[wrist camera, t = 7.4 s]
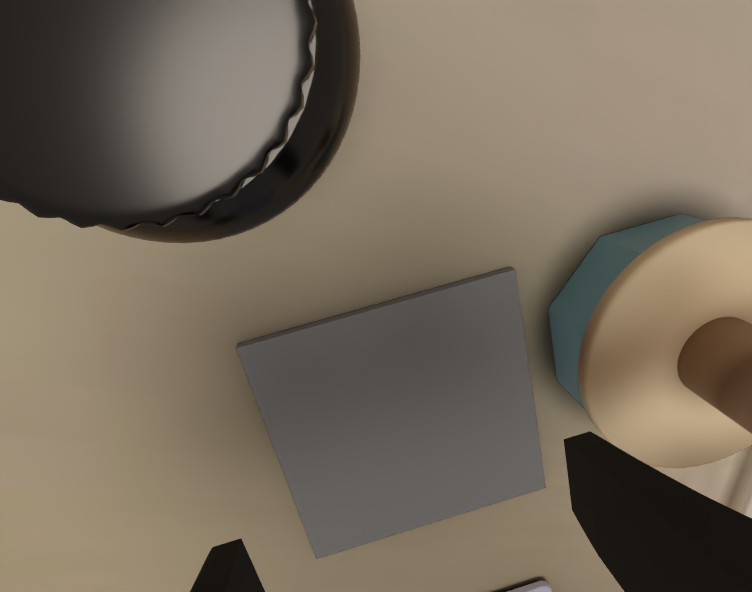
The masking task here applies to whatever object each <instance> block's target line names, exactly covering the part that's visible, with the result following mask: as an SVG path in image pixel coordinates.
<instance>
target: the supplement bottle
mask: <svg viewBox="0 0 752 592" xmlns="http://www.w3.org/2000/svg"><path fill="white" fill-rule="evenodd" d="M359 73H360V37H359V29H358V21H357V14H356V10H355V5H354V1H353V0H0V200H3V201H7V202H14V203H19V204H20V205H22V206H23V207H24V208H25V209H27V210H28V211H30V212H31V213H33V214H34V215H36V216H37V217H41V218H58V217H60V218H63V219H65V220H67V221H68V222H70V223H71V224H74V225H76V226H78V227H80V228H86V227H93V226H99V227H101V228H104V229H106V230H109V231H112V232H115V233H118V234H122V235H125V236H129V237H133V238H138V239H143V240H148V241H157V242H166V243H193V242H205V241H211V240H217V239H222V238H226V237H230V236H234V235H237V234H240V233H243V232H246V231H248V230H251V229H254V228H256V227H258V226H260V225H262V224H264V223H266V222H268V221H270V220H271V219H273V218H275V217H276V216H278V215H279V214H281V213H283V212H284V211H285V210H287V209H288V208H289V207H291V206H292V205H293V204H294V203H296V202H297V201H298V200H299V199H300V198H301V197H302V196H303V195H304V194H305V193H307V192H308V191H309V190H310V188H311V187H312V186H313V185H314V184H315V183H316V182H317V180H318V179H319V178H320V177H321V175H322V174H323V173H324V171H325V170H326V168H327V167H328V166H329V164H330V163H331V161H332V159H333V157H334V156H335V154H336V152H337V150H338V149H339V147H340V145H341V142H342V140H343V138H344V136H345V133H346V131H347V128H348V125H349V122H350V119H351V116H352V113H353V109H354V105H355V100H356V96H357V89H358V82H359Z"/></svg>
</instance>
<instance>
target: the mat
mask: <svg viewBox="0 0 752 592" xmlns="http://www.w3.org/2000/svg"><path fill="white" fill-rule="evenodd" d="M236 349H237V352H238V355H239V357H240V360H241V363H242V365H243V368H244V370H245V373H246V376H247V378H248V381H249V384H250V386H251V389H252V391H253V394H254V397H255V399H256V402H257V405H258V407H259V410H260V412H261V415H262V418H263V420H264V423H265V426H266V428H267V431H268V433H269V436H270V439H271V441H272V444H273V447H274V449H275V452H276V454H277V457H278V460H279V462H280V465H281V468H282V470H283V473H284V475H285V478H286V481H287V483H288V486H289V489H290V491H291V494H292V496H293V499H294V502H295V504H296V507H297V510H298V512H299V515H300V517H301V520H302V523H303V525H304V528H305V531H306V533H307V536H308V538H309V541H310V544H311V546H312V549H313V552H314V554H315V557H316V559H318V558H322V557H325V556H328V555H331V554H334V553H338V552H341V551H344V550H347V549H350V548H354V547H357V546H360V545H363V544H366V543H370V542H373V541H376V540H379V539H383V538H386V537H389V536H392V535H395V534H399V533H402V532H405V531H408V530H411V529H415V528H418V527H421V526H424V525H427V524H431V523H434V522H437V521H440V520H443V519H447V518H450V517H453V516H456V515H459V514H463V513H466V512H469V511H472V510H475V509H479V508H482V507H485V506H488V505H491V504H495V503H498V502H501V501H504V500H507V499H511V498H514V497H517V496H520V495H523V494H527V493H530V492H533V491H536V490H539V489H543V488H546V485H545V477H544V470H543V463H542V456H541V449H540V442H539V435H538V428H537V421H536V414H535V406H534V399H533V392H532V385H531V378H530V371H529V364H528V357H527V350H526V343H525V336H524V328H523V321H522V314H521V307H520V300H519V293H518V286H517V279H516V272H515V269H514V268H512V267H508V268H504V269H501V270H497V271H494V272H490V273H486V274H483V275H479V276H476V277H472V278H469V279H465V280H462V281H458V282H455V283H451V284H447V285H444V286H440V287H437V288H433V289H430V290H426V291H423V292H419V293H416V294H412V295H409V296H405V297H401V298H398V299H394V300H391V301H387V302H384V303H380V304H377V305H373V306H370V307H366V308H362V309H359V310H355V311H352V312H348V313H345V314H341V315H338V316H334V317H331V318H327V319H324V320H320V321H316V322H313V323H309V324H306V325H302V326H299V327H295V328H292V329H288V330H285V331H281V332H277V333H274V334H270V335H267V336H263V337H260V338H256V339H253V340H249V341H246V342H242V343H239V344H237V347H236Z"/></svg>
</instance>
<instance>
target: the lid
mask: <svg viewBox="0 0 752 592" xmlns="http://www.w3.org/2000/svg"><path fill="white" fill-rule="evenodd" d="M578 385H579V392H580V396H581V399H582V403H583V406H584V408H585V410H586V412H587V414H588V416H589V418H590V420H591V421H592V422H593V424H594V425H595V426H596V428H597V429H598V430H599V431H600V432H601V433H602V434H603V435H604V436H605V437H606V438H607V439H608V440H609V441H610V442H611V443H612V444H613V445H614V446H616V447H618V448H619V449H621V450H623V451H625V452H626V453H628V454H630V455H631V456H633V457H635V458H637V459H638V460H640V461H642V462H644V463H645V464H648V465H652V466H656V467H664V468H685V467H693V466H699V465H703V464H708V463H712V462H715V461H717V460H720V459H723V458H726V457H728V456H730V455H733V454H735V453H737V452H739V451H741V450H743V449H745V448H746V447H748V446H750V445H752V219H749V218H740V217H732V218H718V219H713V220H708V221H703V222H700V223H697V224H694V225H690V226H687V227H685V228H683V229H681V230H678V231H676V232H674V233H672V234H670V235H668V236H666V237H665V238H663V239H661V240H660V241H658V242H656V243H655V244H653V245H652V246H650V247H649V248H648V249H646V250H645V251H644V252H642V253H641V254H640V255H639V256H637V257H636V258H635V259H634V260H633V261H632V262H631V263H630V264H629V265H628V266H627V267H626V268H624V269H623V271H622V272H621V273H620V274H619V275H618V276H617V278H616V279H615V280H614V281H613V282H612V283H611V285H610V286H609V287H608V289H607V290H606V292H605V293H604V295H603V296H602V297H601V299H600V301H599V302H598V304H597V306H596V308H595V310H594V312H593V313H592V315H591V317H590V320H589V322H588V325H587V327H586V330H585V332H584V336H583V339H582V343H581V347H580V352H579V359H578Z"/></svg>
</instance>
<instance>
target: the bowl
mask: <svg viewBox="0 0 752 592" xmlns="http://www.w3.org/2000/svg"><path fill="white" fill-rule="evenodd" d="M703 221H706V220H703V219H699V218H696V217H692V216H688V215H685V214H678V215H675V216H671V217H668V218H664V219H661V220H657V221H654V222H650V223H647V224H643V225H639V226H636V227H632V228H629V229H625V230H622V231H618V232H615V233H611V234H607V235H604V236H600V237H599V239H598V240H597V242H596V243H595V244H594V246H593V247H592V249H591V250H590V251H589V253H588V254H587V256H586V257H585V258H584V260H583V261H582V263H581V264H580V265H579V267H578V268H577V270H576V271H575V272H574V274H573V275H572V277H571V278H570V279H569V281H568V282H567V283H566V285H565V286H564V288H563V289H562V290H561V292H560V293H559V295H558V296H557V297H556V299H555V300H554V302H553V303H552V304H551V306H550V307H549V309H548V311H549V319H550V327H551V336H552V344H553V353H554V361H555V369H556V378H557V381H558V382H559V383H560V384H561V385H562V386H563V387H564V388H565V389H566V390H567V391H568V392H569V393H570V394H571V395H572V396H573V397H574V398H575V400H576V401H577V402H578V403H579V404H580V405H581V406H582V407H583V408H584V406H583V403H582V399H581V396H580V392H579V385H578V359H579V352H580V347H581V343H582V339H583V336H584V332H585V330H586V327H587V325H588V322H589V320H590V317H591V315H592V313H593V312H594V310H595V308H596V306H597V304H598V302H599V301H600V299H601V297H602V296H603V295H604V293H605V292H606V290H607V289H608V287H609V286H610V285H611V283H612V282H613V281H614V280H615V279H616V278H617V276H618V275H619V274H620V273H621V272H622V271H623V269H624V268H626V267H627V266H628V265H629V264H630V263H631V262H632V261H633V260H634V259H635V258H636V257H637V256H639V255H640V254H641V253H642V252H644V251H645V250H646V249H648V248H649V247H650V246H652V245H653V244H655V243H656V242H658V241H660V240H661V239H663V238H665V237H666V236H668V235H670V234H672V233H674V232H676V231H678V230H681V229H683V228H685V227H687V226H690V225H694V224H697V223H700V222H703ZM584 409H585V408H584Z"/></svg>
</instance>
